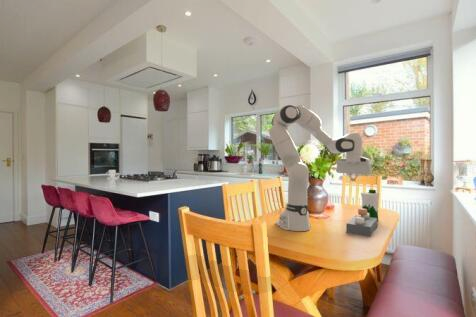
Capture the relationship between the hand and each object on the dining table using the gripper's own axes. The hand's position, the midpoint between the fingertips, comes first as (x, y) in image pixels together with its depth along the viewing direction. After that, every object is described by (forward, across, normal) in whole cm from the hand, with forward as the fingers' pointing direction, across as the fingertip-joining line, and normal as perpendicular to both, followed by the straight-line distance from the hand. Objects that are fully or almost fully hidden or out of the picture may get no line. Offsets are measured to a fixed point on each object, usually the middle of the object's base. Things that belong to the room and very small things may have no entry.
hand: (353, 181), depth 157 cm
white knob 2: (+25, +8, 0) cm, 27 cm away
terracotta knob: (+22, +8, -8) cm, 25 cm away
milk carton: (+26, +7, +17) cm, 33 cm away
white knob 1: (+26, +8, -16) cm, 31 cm away
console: (+27, +8, -8) cm, 29 cm away
